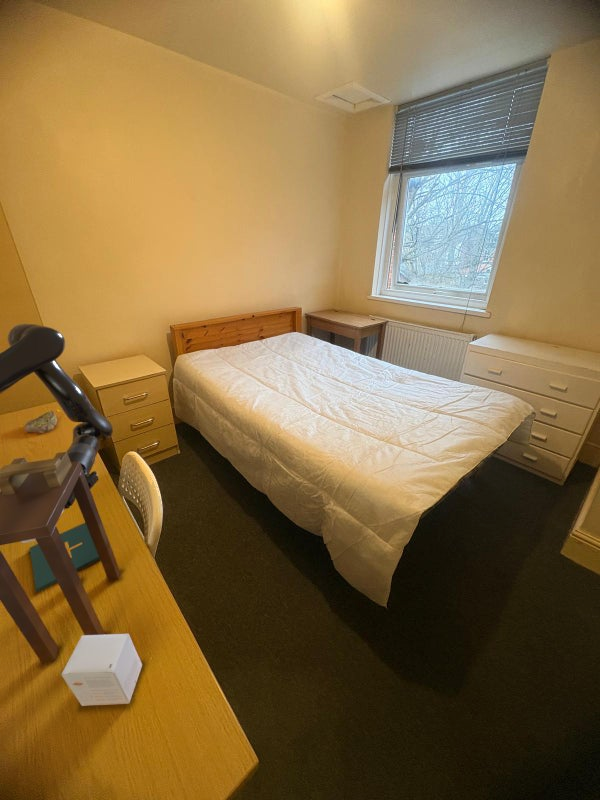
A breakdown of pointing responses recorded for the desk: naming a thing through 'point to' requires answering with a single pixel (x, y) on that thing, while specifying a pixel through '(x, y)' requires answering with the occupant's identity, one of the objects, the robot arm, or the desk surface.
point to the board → (78, 549)
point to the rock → (42, 423)
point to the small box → (103, 669)
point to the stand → (48, 542)
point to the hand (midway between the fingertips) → (54, 507)
